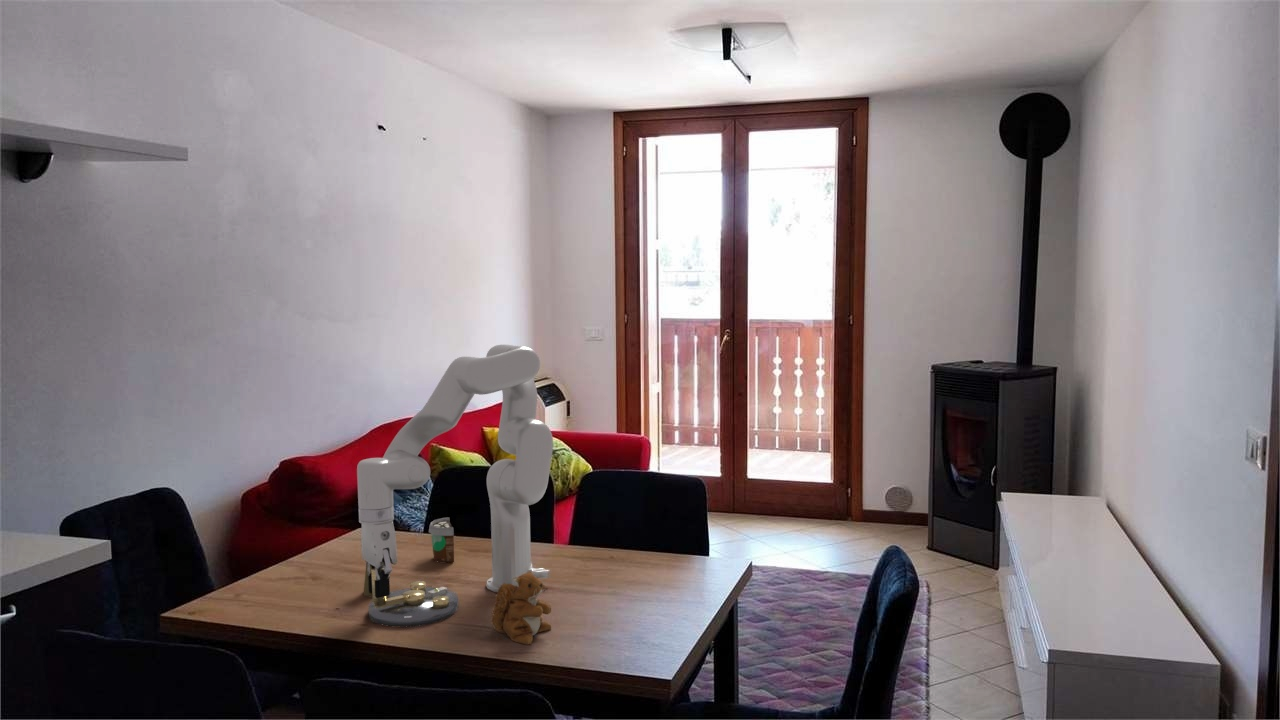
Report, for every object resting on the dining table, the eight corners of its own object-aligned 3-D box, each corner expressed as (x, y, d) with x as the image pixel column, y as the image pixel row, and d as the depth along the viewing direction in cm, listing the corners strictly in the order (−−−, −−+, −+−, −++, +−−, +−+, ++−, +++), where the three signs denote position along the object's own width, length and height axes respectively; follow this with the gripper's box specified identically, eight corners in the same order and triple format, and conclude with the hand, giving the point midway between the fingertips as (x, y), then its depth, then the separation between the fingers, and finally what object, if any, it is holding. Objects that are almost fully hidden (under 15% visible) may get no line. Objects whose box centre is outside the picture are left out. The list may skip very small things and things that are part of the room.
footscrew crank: (420, 596, 207) (418, 557, 206) (428, 602, 203) (427, 562, 202) (369, 607, 200) (367, 567, 199) (377, 613, 196) (375, 573, 195)
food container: (428, 553, 248) (426, 518, 247) (450, 551, 250) (449, 516, 249) (431, 566, 236) (430, 530, 235) (454, 564, 238) (453, 527, 237)
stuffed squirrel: (531, 647, 182) (529, 584, 181) (478, 634, 189) (476, 574, 188) (559, 630, 191) (557, 571, 190) (507, 619, 198) (505, 561, 197)
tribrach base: (461, 593, 215) (461, 578, 215) (454, 624, 195) (453, 607, 195) (377, 597, 213) (376, 582, 212) (361, 629, 193) (360, 612, 193)
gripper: (407, 518, 193) (409, 600, 195) (378, 504, 206) (381, 581, 208) (373, 524, 189) (376, 608, 190) (346, 509, 202) (350, 588, 203)
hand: (379, 593), depth 199 cm, fingers closed on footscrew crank, 3 cm apart
